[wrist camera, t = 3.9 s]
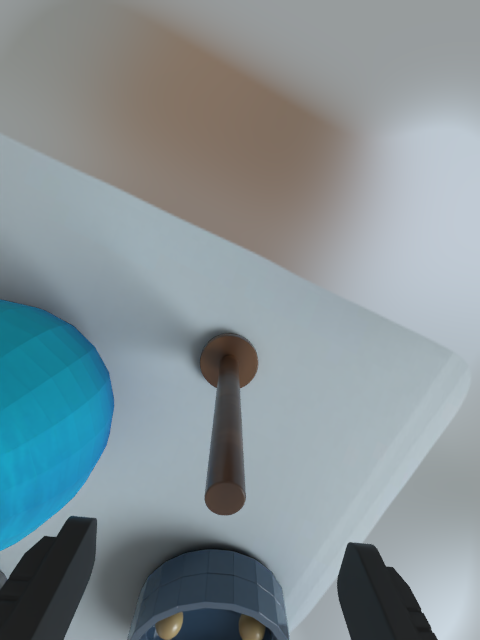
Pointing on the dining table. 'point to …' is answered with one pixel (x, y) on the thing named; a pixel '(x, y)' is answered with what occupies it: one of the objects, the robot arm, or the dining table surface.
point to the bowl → (210, 597)
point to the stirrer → (227, 419)
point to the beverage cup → (2, 579)
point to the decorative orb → (46, 416)
